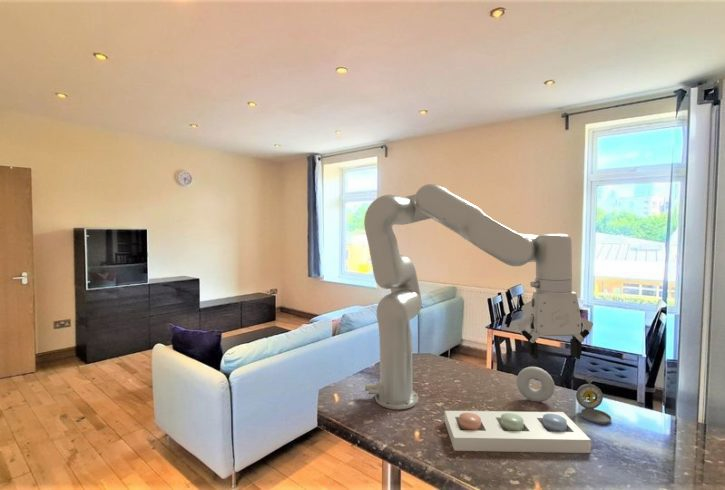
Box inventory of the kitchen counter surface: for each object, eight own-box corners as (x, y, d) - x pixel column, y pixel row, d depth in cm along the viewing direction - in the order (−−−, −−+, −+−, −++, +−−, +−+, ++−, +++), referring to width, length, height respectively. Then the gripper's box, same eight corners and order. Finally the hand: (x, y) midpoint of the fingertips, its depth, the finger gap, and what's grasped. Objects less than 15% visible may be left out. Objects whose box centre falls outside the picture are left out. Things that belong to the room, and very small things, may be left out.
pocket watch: (602, 428, 89) (602, 388, 89) (569, 412, 97) (569, 376, 96) (620, 419, 93) (620, 381, 93) (587, 405, 101) (587, 370, 100)
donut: (554, 401, 103) (554, 367, 102) (554, 407, 100) (555, 372, 99) (516, 395, 107) (516, 362, 107) (515, 400, 104) (516, 366, 104)
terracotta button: (461, 431, 84) (461, 423, 84) (457, 420, 89) (457, 412, 89) (483, 432, 84) (483, 423, 84) (477, 420, 89) (477, 412, 89)
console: (454, 450, 81) (454, 437, 81) (444, 421, 93) (444, 410, 93) (590, 453, 80) (590, 439, 79) (563, 423, 92) (563, 412, 91)
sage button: (505, 432, 84) (505, 423, 84) (498, 420, 89) (498, 412, 89) (526, 432, 84) (526, 424, 83) (518, 421, 89) (518, 413, 88)
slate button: (548, 433, 83) (548, 424, 83) (539, 421, 88) (539, 413, 88) (570, 433, 83) (571, 424, 83) (560, 421, 88) (560, 413, 88)
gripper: (522, 289, 81) (523, 363, 82) (601, 287, 80) (601, 362, 81) (510, 284, 89) (511, 352, 90) (582, 282, 88) (583, 351, 89)
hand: (554, 357), depth 85 cm, fingers open, 9 cm apart
